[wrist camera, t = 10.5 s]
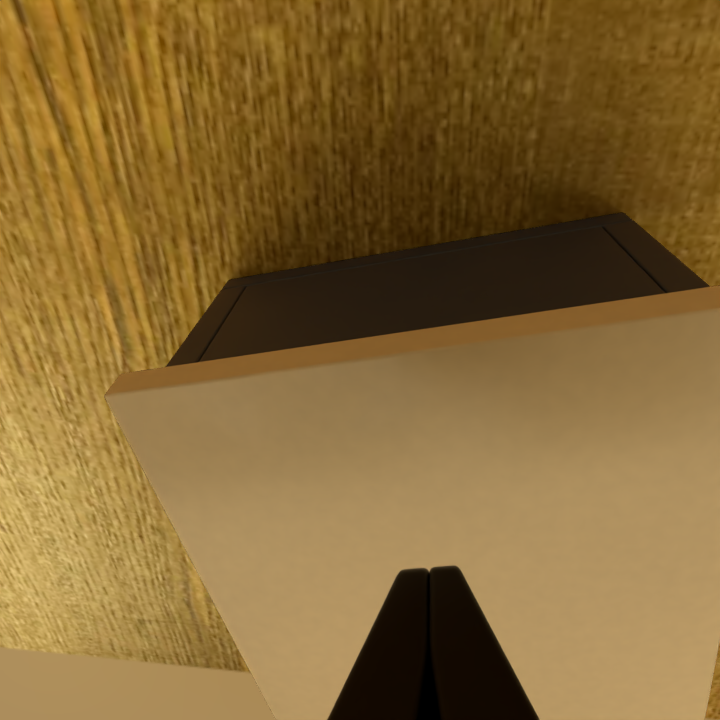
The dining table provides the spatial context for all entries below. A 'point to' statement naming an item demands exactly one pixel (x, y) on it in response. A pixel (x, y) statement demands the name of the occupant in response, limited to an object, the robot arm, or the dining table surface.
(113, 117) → the dining table surface
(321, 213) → the dining table surface
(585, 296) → the box
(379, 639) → the robot arm
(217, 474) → the lid
